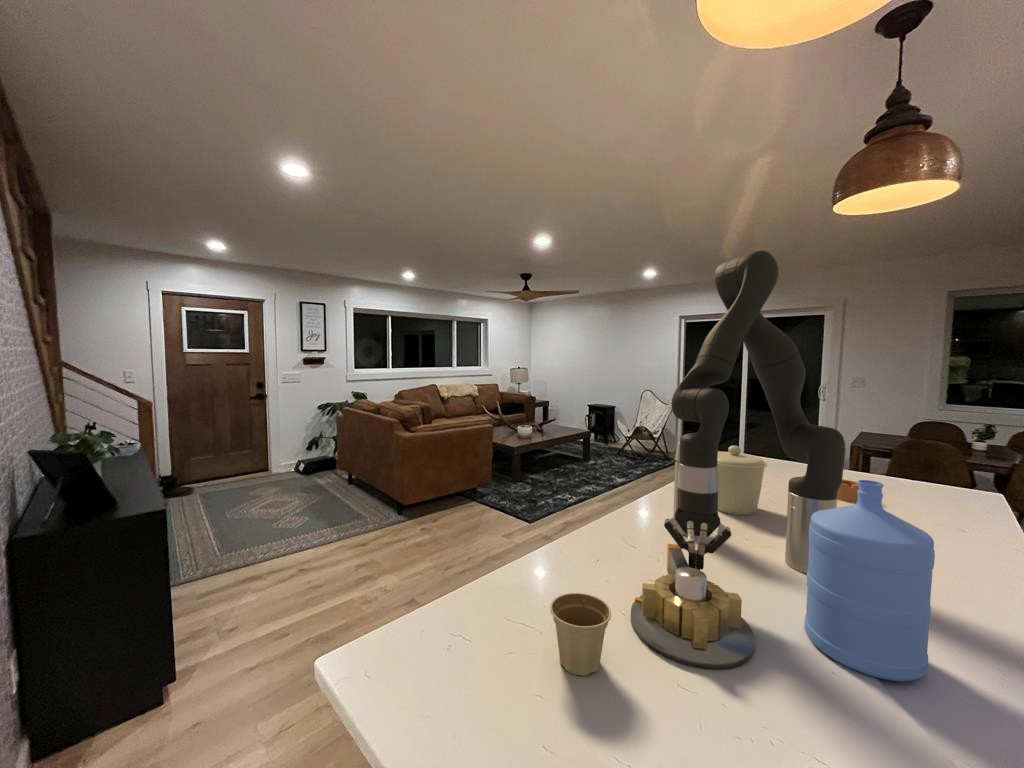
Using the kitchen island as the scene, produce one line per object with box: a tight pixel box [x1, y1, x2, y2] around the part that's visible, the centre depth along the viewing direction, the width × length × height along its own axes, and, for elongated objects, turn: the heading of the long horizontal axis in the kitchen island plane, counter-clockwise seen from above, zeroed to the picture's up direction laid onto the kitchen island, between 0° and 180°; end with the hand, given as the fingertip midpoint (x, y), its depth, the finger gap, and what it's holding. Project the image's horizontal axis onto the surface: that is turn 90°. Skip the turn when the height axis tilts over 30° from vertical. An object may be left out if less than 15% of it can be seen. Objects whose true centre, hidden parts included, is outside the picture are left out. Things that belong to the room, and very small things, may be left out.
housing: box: [630, 567, 756, 671], centre depth 74 cm, size 20×20×10 cm
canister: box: [717, 445, 768, 516], centre depth 135 cm, size 18×18×21 cm
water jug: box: [804, 479, 936, 682], centre depth 69 cm, size 16×16×28 cm
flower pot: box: [549, 592, 612, 676], centre depth 66 cm, size 9×9×9 cm
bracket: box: [837, 478, 859, 504], centre depth 151 cm, size 18×8×7 cm, turn 170°
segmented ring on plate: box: [641, 543, 743, 649], centre depth 79 cm, size 16×24×6 cm, turn 8°
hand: (696, 569), depth 86 cm, fingers closed
